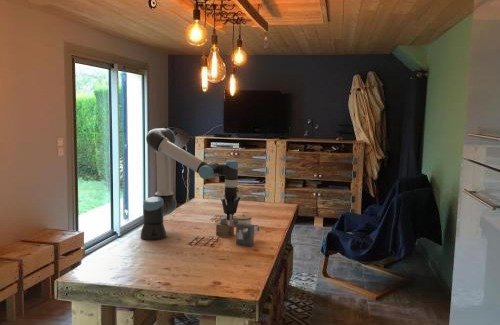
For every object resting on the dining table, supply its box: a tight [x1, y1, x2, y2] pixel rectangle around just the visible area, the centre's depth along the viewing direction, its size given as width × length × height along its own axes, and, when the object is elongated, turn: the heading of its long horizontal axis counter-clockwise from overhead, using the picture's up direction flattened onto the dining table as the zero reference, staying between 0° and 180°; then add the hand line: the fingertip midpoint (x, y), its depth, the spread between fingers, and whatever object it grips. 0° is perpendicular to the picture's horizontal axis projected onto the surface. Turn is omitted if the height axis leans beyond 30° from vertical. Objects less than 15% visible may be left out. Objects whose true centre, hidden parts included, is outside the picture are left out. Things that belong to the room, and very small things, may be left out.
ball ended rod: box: [219, 216, 238, 228], centre depth 270 cm, size 16×6×5 cm, turn 35°
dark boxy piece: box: [235, 223, 255, 248], centre depth 256 cm, size 4×10×12 cm, turn 62°
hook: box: [237, 224, 260, 240], centre depth 259 cm, size 20×4×6 cm, turn 152°
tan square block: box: [215, 222, 235, 238], centre depth 275 cm, size 8×8×7 cm
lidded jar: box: [234, 213, 252, 230], centre depth 292 cm, size 11×11×9 cm
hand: (229, 225), depth 267 cm, fingers closed
